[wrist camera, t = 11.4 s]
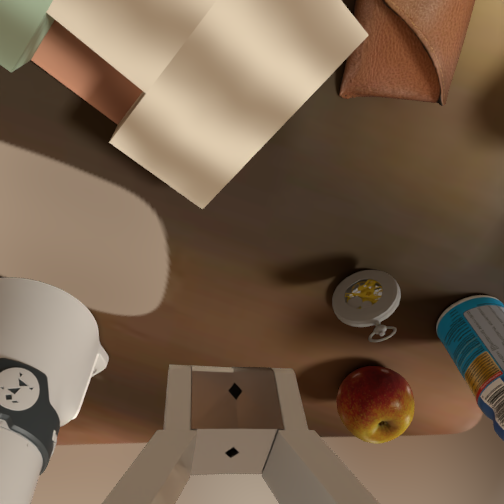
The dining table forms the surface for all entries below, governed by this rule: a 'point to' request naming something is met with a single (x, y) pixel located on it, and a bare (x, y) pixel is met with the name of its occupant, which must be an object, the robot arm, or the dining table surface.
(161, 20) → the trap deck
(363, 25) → the sunglasses case
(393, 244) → the dining table surface
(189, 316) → the dining table surface
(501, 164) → the dining table surface
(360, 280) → the pocket watch
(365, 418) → the fruit
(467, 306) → the blue labeled canister
